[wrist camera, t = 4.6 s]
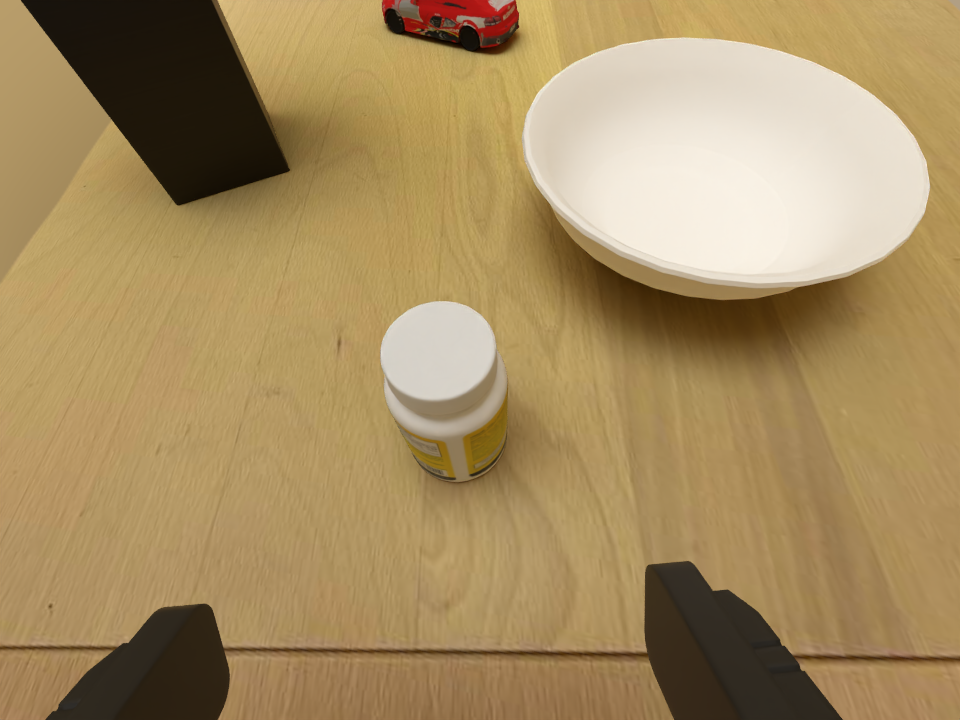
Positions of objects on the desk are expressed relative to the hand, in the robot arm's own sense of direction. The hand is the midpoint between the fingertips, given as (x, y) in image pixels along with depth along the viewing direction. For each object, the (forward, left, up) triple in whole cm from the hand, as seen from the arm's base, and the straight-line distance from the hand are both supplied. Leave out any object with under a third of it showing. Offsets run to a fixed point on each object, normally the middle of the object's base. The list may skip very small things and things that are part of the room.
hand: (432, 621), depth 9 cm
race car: (+18, +45, -12) cm, 50 cm away
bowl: (+21, +15, -12) cm, 28 cm away
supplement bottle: (+3, +8, -12) cm, 14 cm away
